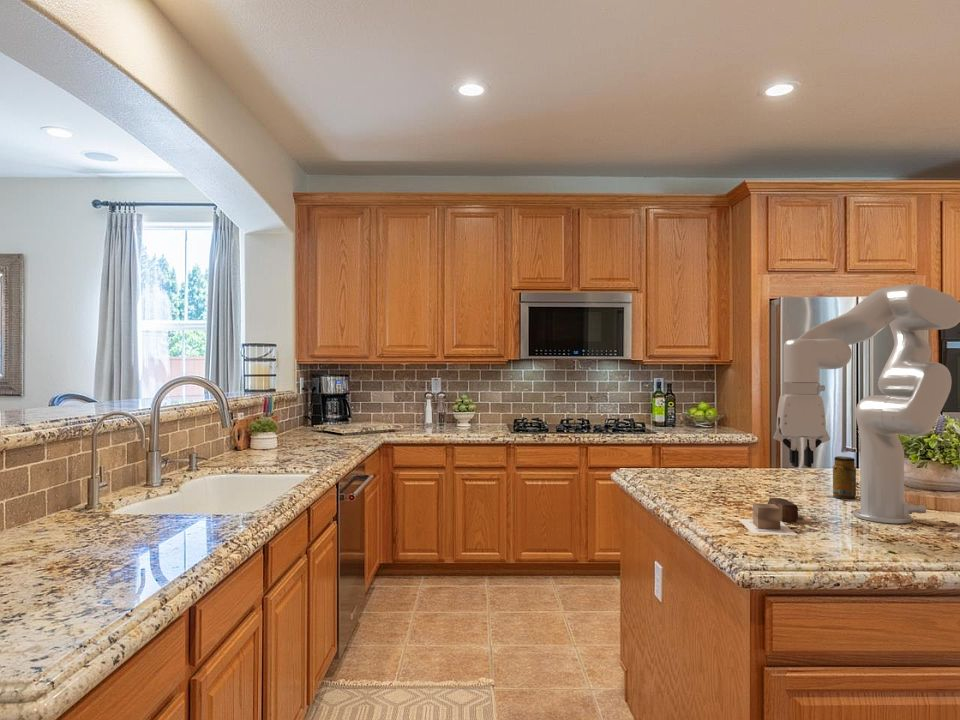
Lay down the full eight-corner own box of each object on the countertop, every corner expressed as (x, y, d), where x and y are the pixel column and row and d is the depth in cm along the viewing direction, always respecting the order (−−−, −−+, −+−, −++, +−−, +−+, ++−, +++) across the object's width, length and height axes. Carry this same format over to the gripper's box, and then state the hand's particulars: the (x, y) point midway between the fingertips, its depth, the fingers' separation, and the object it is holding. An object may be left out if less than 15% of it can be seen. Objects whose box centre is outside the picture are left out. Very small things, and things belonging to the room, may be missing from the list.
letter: (779, 521, 160) (779, 520, 160) (797, 535, 146) (797, 534, 146) (738, 519, 162) (738, 518, 162) (751, 533, 148) (751, 532, 148)
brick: (798, 523, 158) (798, 505, 158) (782, 523, 158) (782, 504, 159) (782, 514, 169) (782, 496, 169) (767, 513, 169) (767, 496, 169)
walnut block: (774, 524, 156) (774, 504, 156) (780, 529, 151) (780, 508, 151) (752, 523, 157) (752, 503, 157) (758, 528, 152) (758, 507, 152)
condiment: (845, 494, 194) (845, 455, 194) (868, 500, 185) (868, 459, 185) (825, 495, 192) (824, 456, 192) (847, 501, 184) (846, 460, 184)
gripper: (831, 389, 155) (831, 465, 155) (761, 389, 158) (762, 463, 158) (843, 391, 148) (843, 470, 148) (770, 390, 151) (770, 468, 150)
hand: (801, 465), depth 153 cm, fingers closed
